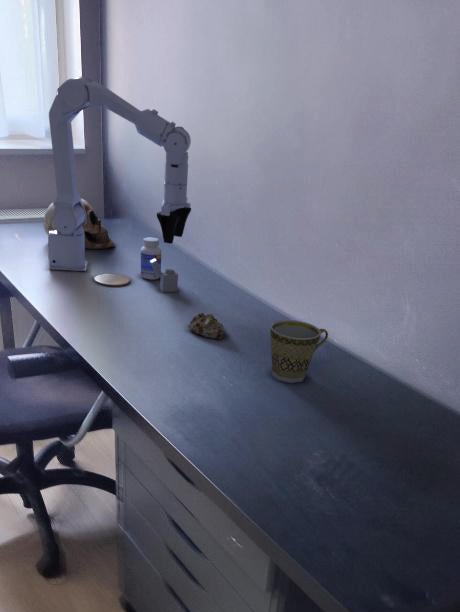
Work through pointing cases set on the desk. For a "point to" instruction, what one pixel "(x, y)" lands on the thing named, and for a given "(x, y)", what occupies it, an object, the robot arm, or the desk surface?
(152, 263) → the lighter
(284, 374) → the ceramic cup
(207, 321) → the mineral rock
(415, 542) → the desk surface
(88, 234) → the brown skull
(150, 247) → the pill bottle
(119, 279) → the coaster
